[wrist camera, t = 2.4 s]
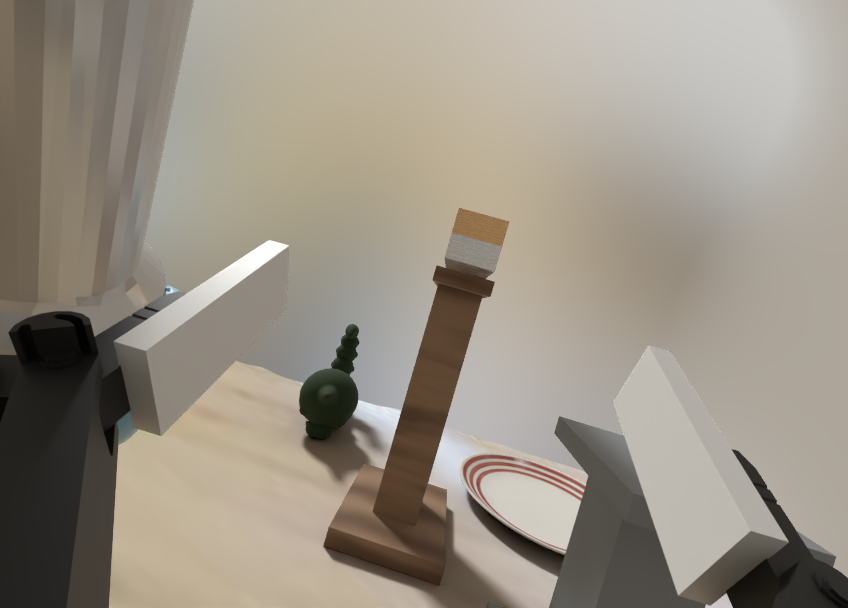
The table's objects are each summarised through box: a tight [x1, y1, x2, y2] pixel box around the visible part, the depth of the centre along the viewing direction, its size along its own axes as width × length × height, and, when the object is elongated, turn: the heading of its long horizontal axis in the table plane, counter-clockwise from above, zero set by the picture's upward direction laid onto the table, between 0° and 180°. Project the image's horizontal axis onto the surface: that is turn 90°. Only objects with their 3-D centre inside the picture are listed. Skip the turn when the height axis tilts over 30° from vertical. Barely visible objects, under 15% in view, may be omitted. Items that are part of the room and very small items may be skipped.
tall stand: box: [324, 266, 494, 585], centre depth 47 cm, size 16×12×30 cm
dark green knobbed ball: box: [299, 324, 359, 439], centre depth 71 cm, size 9×19×25 cm
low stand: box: [487, 417, 836, 608], centre depth 27 cm, size 16×12×20 cm
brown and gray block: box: [445, 208, 509, 279], centre depth 42 cm, size 22×4×4 cm, turn 176°
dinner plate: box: [459, 452, 586, 555], centre depth 60 cm, size 27×27×3 cm
